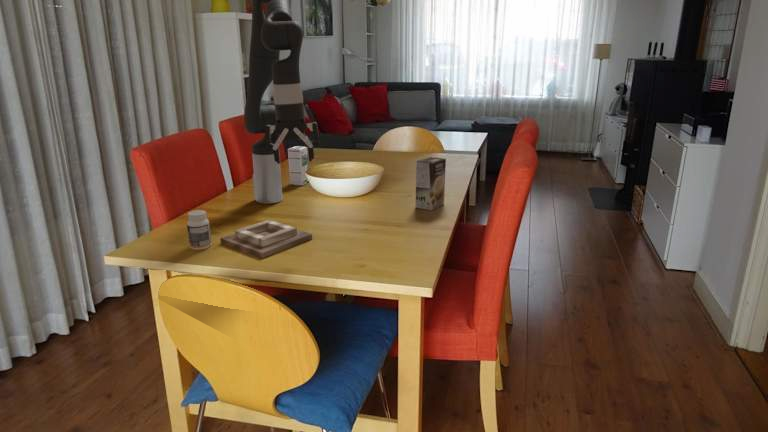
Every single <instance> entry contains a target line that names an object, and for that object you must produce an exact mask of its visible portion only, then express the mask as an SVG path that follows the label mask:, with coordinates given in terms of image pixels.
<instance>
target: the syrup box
mask: <svg viewBox="0 0 768 432" xmlns="http://www.w3.org/2000/svg"><path fill="white" fill-rule="evenodd" d="M287 156H288V169H289V170H288V171H289V172H288V173H289V183H290V185H292V184H293V186H304V185H306V184H308V183H309V182H308V181H307V178H306V176H305V172H306V171H307V170H309V171H310V169H309V155H308V146H301V145H297V146H293V147H289V148H287ZM307 182H308V183H307Z"/></svg>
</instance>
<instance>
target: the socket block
mask: <svg viewBox="0 0 768 432" xmlns="http://www.w3.org/2000/svg"><path fill="white" fill-rule="evenodd" d="M234 232H235V233H232V234H229V235H226V236H223V237H220V239H219V240H220V244H222V245H225V246H228V247H231V248H232V249H236V250H239V251H241V252H244V253H246V254H250V255H253V256H255V257H258V258H261V259H265V258H267V257H270V256H272V255H275V254H278V253H280V252H283V251H285V250H287V249H291V248H293V247H295V246H297V245H300V244H303V243H306V242H308V241H310V240H313V233H311V232H307V231H303V230H300V229H297V227H295V226H291V225H288V224H286V223H285V224H284V223H281V222H279V221H278V222H277V221H275V220H270V219H267V220H264V221H260V222H258V223H255V224H251V225H247V226H245V227H242V228H239V229H236V230H235V231H234Z"/></svg>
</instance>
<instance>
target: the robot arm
mask: <svg viewBox="0 0 768 432" xmlns="http://www.w3.org/2000/svg"><path fill="white" fill-rule="evenodd" d="M263 4H264V5H265V4H266V7H265V11H264V9H263ZM291 7H292V0H251V32H250V43H249V44H250V45H249V58H248V59H249V60H248V66H249V67H248V82H247V83H248V84H247V92H246V99H245V107H244V112H243V118H244V121H243V122H244V123H243V124H244V127H245V129H246V131H247V132H248V133H249V134H251V135H257V134H264V135H263V136H262V138H260V140H258V141H256V142H254V143H253V144H252V145H251V153H252V154H251V155H252V166H253V173H252V185H253V197H254V198H253V199H254V200H255V201H256V202H257V203H259V204H265V205H267V204H275V203H280V202H282V201H283V200H284V199H283V185H282V171H281V170H282V169H281V153H280V145H281V144H282V143H283V141H291V140H292V141H299V140H301V141H303V143H304V144H305V145H306V147H307V154H308V163H310V162H313V160H314V159H315V158H314V157H315V152H314V151H315V150H314V148H315V147H316V146H319V145H320V136H319V129H318V123H317V122H316V121H313V122H308V123H307V122H306V119H305V107H304V96H303V90H302V85H301V75H300V57H301V50H302V46H303V42H304V41H303V39H304V31H303V28H302V26H301V24H300V23H299V22H298V21H296V20H294V19H293V16H292V15H293V14H292V10H291ZM281 51H290V53H289V55H288V56H287V57H285V58H282V59H280V54H281ZM271 83H273V89H272V91H273V93H272V94H273V102H274V103H273V104H262V105H261V103H262V101H263V96H264V94H265V92H266V91H267V89H268V87H269V86H270V84H271ZM307 128H308V129H309V130H310V132H313V140H312V141H311V139H310V138H309V137H308V135H306V133H305V132H306V130H307Z"/></svg>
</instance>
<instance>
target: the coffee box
mask: <svg viewBox="0 0 768 432" xmlns="http://www.w3.org/2000/svg"><path fill="white" fill-rule="evenodd" d="M446 162H447V159H446V158H442V157H432V156H429V157H426V158H423V159H419V160H416V162H415V163H416V171H415V208H416V209H422V210H427V211H433V210H435V209H437V208H439V207H442V206H443V205H445V194H446V193H445V190H446V189H445V188H446V187H445V186H446V167H447V166H446V164H447V163H446Z"/></svg>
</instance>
